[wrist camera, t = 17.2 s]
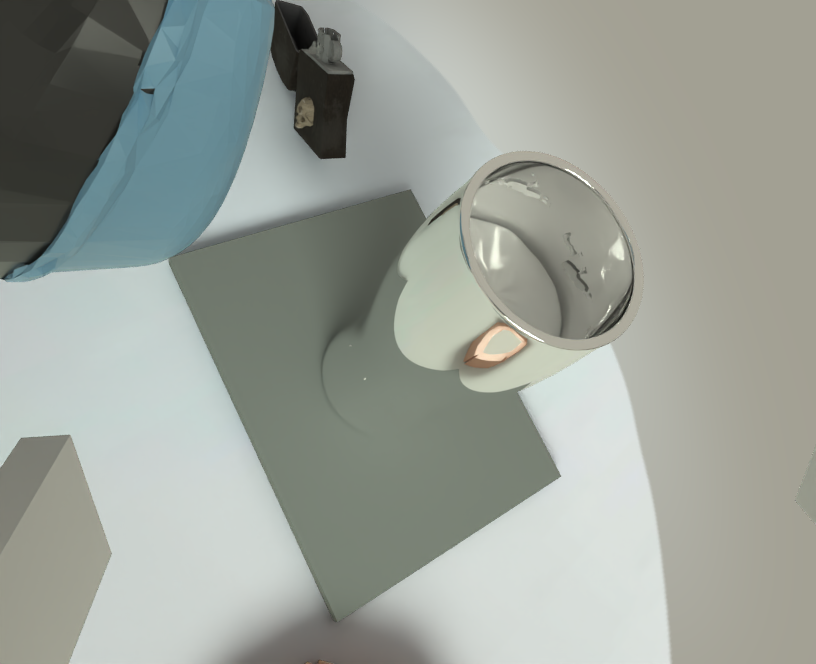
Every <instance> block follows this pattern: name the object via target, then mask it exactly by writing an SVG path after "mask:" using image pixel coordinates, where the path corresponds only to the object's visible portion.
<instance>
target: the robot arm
mask: <svg viewBox="0 0 816 664" xmlns="http://www.w3.org/2000/svg"><path fill="white" fill-rule="evenodd" d="M274 16H275V8H274V5H273V4H272V1H271V0H0V279H3V280H5V281H6V282H25V281H31V280H34V279H37V278H40V277H43V276H45V275H47V274H49V273H51V272H64V271H80V270H95V269H110V268H126V267H139V266H146V265H151V264H155V263H159V262H161V261H164V260H166V259H168V258H170V257H172V256H174V255H176V254H178V253H179V252H181V251H183V250H184V249H185V248H187V247H188V246H189V245H191V244H192V243H193V242H194V241H195V240H196V239H197V238H198V237H199V236H200V235H201V234H202V232H203V231H204V230H205V229H206V228H207V227H208V225H209V224H210V223H211V221H212V220H213V218H214V217H215V215H216V214H217V212H218V210H219V209H220V207H221V205H222V203H223V202H224V199H225V197H226V195H227V193H228V191H229V189H230V187H231V184H232V182H233V180H234V178H235V175H236V173H237V170H238V167H239V165H240V162H241V160H242V157H243V154H244V151H245V148H246V145H247V141H248V138H249V135H250V132H251V129H252V125H253V122H254V118H255V114H256V110H257V106H258V102H259V98H260V95H261V91H262V87H263V82H264V78H265V73H266V68H267V63H268V58H269V54H270V48H271V42H272V36H273V30H274ZM795 501H796V503H797V504H798V505H799V506H800V507H801V508H802V510H803V511H804V512H805V513H806V514H807V516H808V517H809V518H810V519H811V520H812V521H813V523H814V524H815V525H816V447H815V449H814V452H813V454H812V457H811V460H810V462H809V465H808V467H807V470H806V473H805V475H804V478H803V481H802V483H801V486H800V488H799V491H798V493H797V496H796V498H795ZM111 554H112V553H111V550H110V547H109V545H108V542H107V539H106V536H105V533H104V530H103V527H102V524H101V522H100V519H99V516H98V513H97V510H96V507H95V504H94V501H93V499H92V496H91V493H90V490H89V487H88V484H87V481H86V478H85V476H84V473H83V470H82V467H81V464H80V461H79V458H78V455H77V452H76V450H75V447H74V444H73V441H72V438H71V435H59V436H43V437H28V438H21V439H20V440H19V442H18V443H17V445H16V446H15V448H14V449H13V451H12V452H11V453H10V455H9V456H8V458H7V459H6V461H5V462H4V464H3V465H2V467H1V468H0V664H68V663H69V661H70V658H71V656H72V653H73V651H74V648H75V646H76V643H77V641H78V638H79V636H80V633H81V630H82V628H83V625H84V623H85V620H86V618H87V615H88V613H89V610H90V608H91V605H92V603H93V600H94V597H95V595H96V592H97V590H98V587H99V585H100V582H101V580H102V577H103V575H104V572H105V570H106V567H107V565H108V562H109V559H110V557H111Z"/></svg>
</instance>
